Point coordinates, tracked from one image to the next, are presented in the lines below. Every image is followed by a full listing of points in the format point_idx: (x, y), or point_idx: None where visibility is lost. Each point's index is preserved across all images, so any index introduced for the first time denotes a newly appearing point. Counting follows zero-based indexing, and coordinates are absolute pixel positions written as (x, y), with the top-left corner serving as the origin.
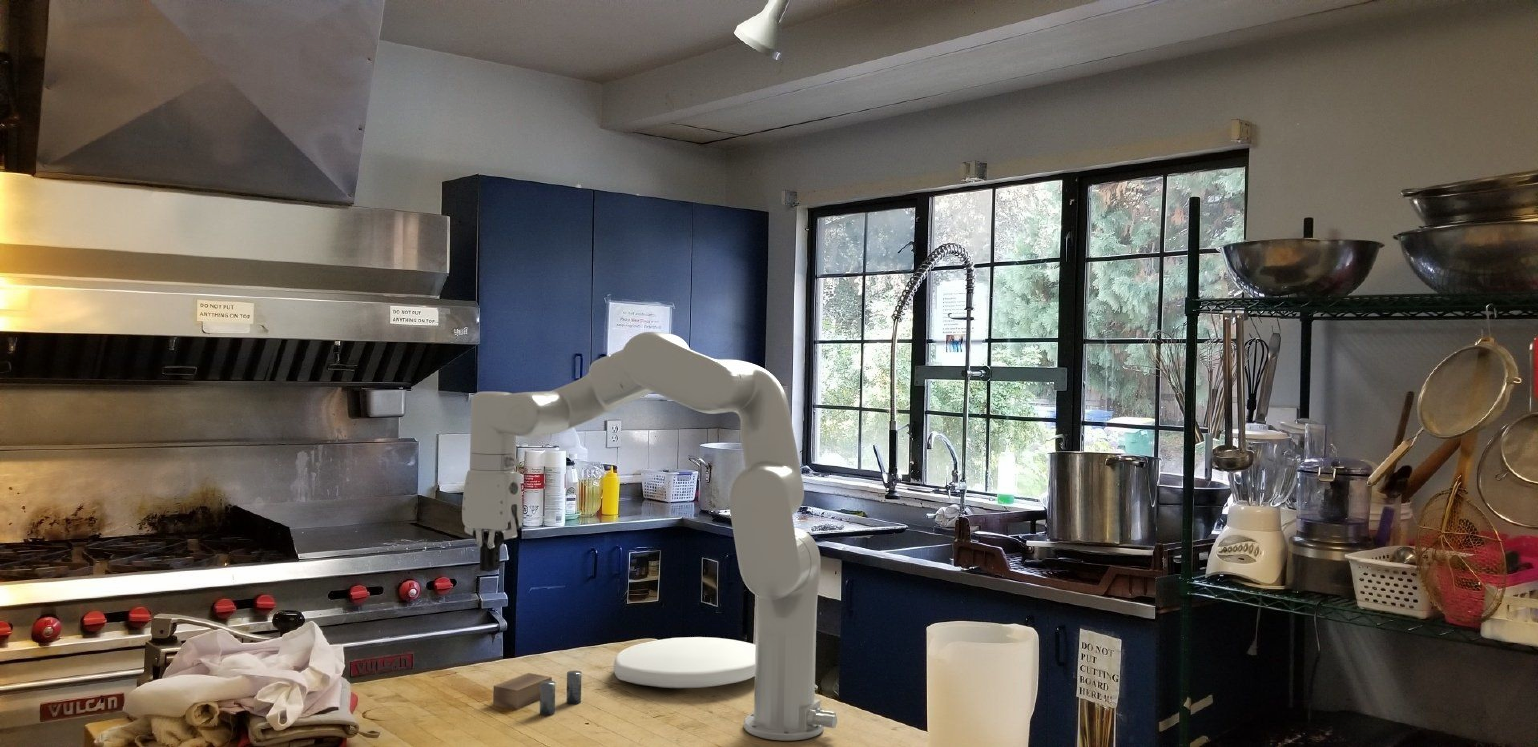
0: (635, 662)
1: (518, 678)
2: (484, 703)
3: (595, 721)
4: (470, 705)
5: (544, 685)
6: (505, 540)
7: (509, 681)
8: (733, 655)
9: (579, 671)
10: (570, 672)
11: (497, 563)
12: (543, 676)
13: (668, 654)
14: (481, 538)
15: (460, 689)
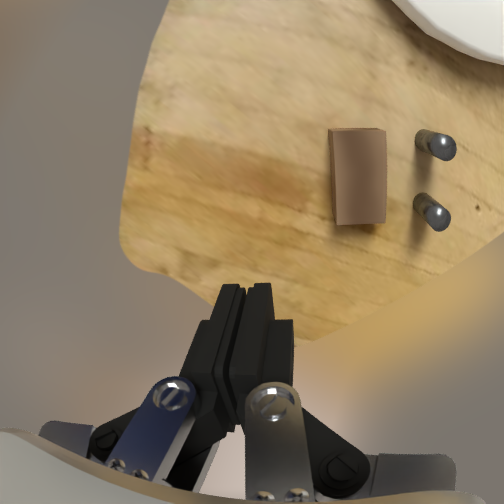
0: (461, 25)
1: (342, 169)
2: (316, 214)
3: (482, 197)
4: (305, 232)
5: (441, 230)
6: (341, 438)
7: (341, 191)
8: None
9: (449, 137)
10: (441, 150)
11: (292, 332)
12: (371, 135)
13: (490, 2)
14: (207, 470)
15: (229, 185)
